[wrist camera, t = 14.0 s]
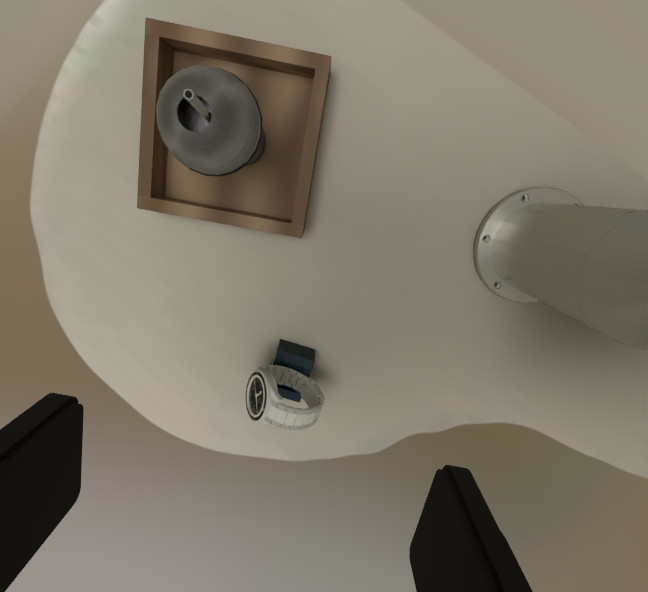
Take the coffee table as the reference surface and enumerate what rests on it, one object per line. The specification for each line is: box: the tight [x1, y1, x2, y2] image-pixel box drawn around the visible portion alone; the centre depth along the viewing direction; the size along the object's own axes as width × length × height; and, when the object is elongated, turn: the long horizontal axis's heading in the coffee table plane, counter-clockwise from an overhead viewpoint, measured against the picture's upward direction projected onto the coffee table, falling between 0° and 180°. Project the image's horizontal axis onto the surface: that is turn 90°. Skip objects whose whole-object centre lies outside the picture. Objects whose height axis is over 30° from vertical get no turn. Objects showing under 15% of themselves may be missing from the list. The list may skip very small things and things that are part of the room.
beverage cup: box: [156, 65, 266, 177], centre depth 29 cm, size 7×7×20 cm
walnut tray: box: [137, 18, 331, 238], centre depth 37 cm, size 16×16×4 cm
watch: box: [246, 339, 324, 430], centre depth 41 cm, size 6×8×11 cm
